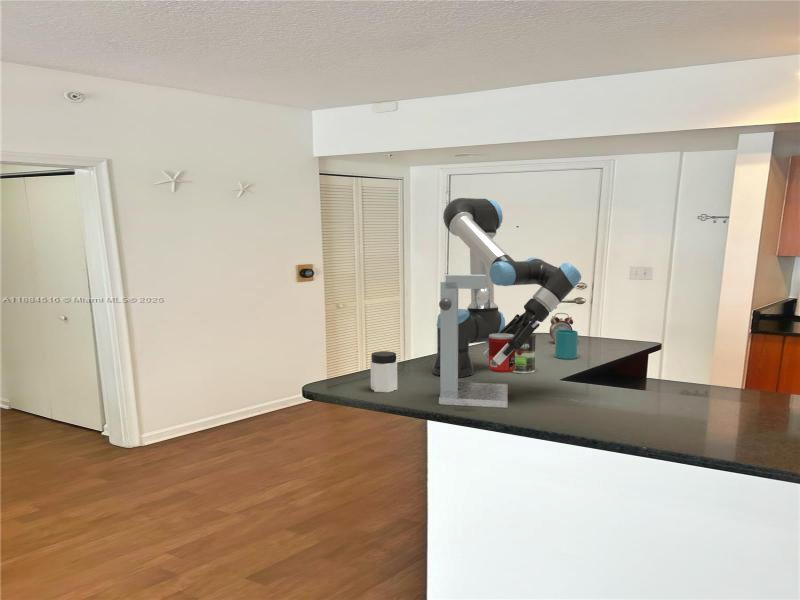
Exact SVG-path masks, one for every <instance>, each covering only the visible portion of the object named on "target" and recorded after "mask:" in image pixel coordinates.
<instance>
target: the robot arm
mask: <svg viewBox="0 0 800 600" xmlns="http://www.w3.org/2000/svg"><path fill="white" fill-rule="evenodd" d="M442 216H443V217H442V218H443V223H444V225H445V228H446V229H447V231H449V232H450V234H452V235H454V236H455V237H459V239H460V240H461V241H462V242H463V243H464V245H466V246H467V247H468V248H469V263H470V264H469V267H470V269H469V270H470V273H469V275H486V288H490V308H487V309H478V308H474V289H470V299H471V302H470V303H469V305H468V306H467V308H458V378H466V377H465V376H467V377H470V376H469V375H471V376H473V375H474V365H473V362H472V359H471V356H470V355H471V354H470V351H469V350H470V344H477V343H489V335H490V334H495V333H507V334H513V335H514V334H515V335H514V336H513V338H512V340H511V341H508V343H509V344H510V345H509V344H508V343H507V344H506V345H505V346H504V347H503V348H502V349H501V350H500V351H499V353H498V354H497V355H496V356H495V357H494V358H493V360H494V361H495V362H496V363H497V364H498V365H500V364H501V363H502V362H503V361H504V360H505V359H506V358H507V357H508V356H509V355H510V353H511V352H512V351H513V350H514V349H516V348H518V349H520V348H521V347H522V345H523V344H524V343H525V342H526V340H527V339H528V338H529V337H530V335H531V334H532V333H534V332H535V331H536V329H538V328H539V326H540V323H543V322H544V321H545V320H546V319H547V318H548V317H549V316H550V313H552V312H553V311H554V310H556V309H558V308H557V307H558V305H559V304H561V302H563V300H564V299H565V298H566V297H567V296H568V295H569V294H570V293H571V292H572V291H573V290H574V289H576V286H577V285H578V284H579V283H580V281H581V280H582V274H581V273H580V271H579V270H578V269H577V267H575V266H574V265H572V264H570V263H569V262H564V263H561V265H560V266H559V267H558V266H554V265H553V264H550V263H548V262H546V261H545V260H542V258H541V259H540V258H537V257H529V258H528V259H525V260H522V261H520V260H518V261H516V260H514V259H513V258H512V257H511V256H510V255H509V254H508V253H507V252H506V251H505V250H504V249H503V248H501V246H500V245H499V244H497V242H496V241H494V239H493V238H494V237H495V236H496V235H497V230H499V229H500V227H501V226H502V225H501V224H502V223H503V220H504V219H503V211H502V208H501V206H500V204H498V202H496V201H495V200H493V199H489V198H488V199H487V198H475V197H474V198H470V197H467V198H466V197H459V198H454V199H453V200H451V201H450V202H449V203H448V204H447V205H445V208H444V211H443V215H442ZM494 285H495V286H503V287H509V286H523V285H524V286H527V285H529V286H531V285H538V286H540V288H539V289H538V290H537V291H536V292H535V293H534V294H533V295H532V298H529V300H528V301H527V302H526V303H525V304H524V305H523V309H524V310H525V312H523V313H522V314H519V313H517V314H515V316H514V317H513V318H512V319H511V320H510V321H509V322H508V323H507V324H506V319H505V317H504V314H503V312H501V311H500V310H499V305H497V304H496V302H495V295H494V294H495V293H494V292H495V289H494ZM539 322H540V323H539ZM436 329H437V331H436V334H437V336H436V343H437V344H436V345H437V346H436V347H437V353H436V355H435V359H434V362H433V365H432V374H433V373H434V374H433V375H435V374H436V375H435V376H437V375H440V313H438V316H437V321H436ZM483 355H484V356H485V357H486V358H487V359H488V360H489V347H488V348H487V349H486V350H485V351H484V352H483ZM472 374H473V375H472Z"/></svg>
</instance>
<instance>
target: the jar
mask: <svg viewBox="0 0 800 600" xmlns="http://www.w3.org/2000/svg"><path fill="white" fill-rule="evenodd" d="M370 357H371V358H370V359H371V360H370V389H371V390H372V391H373V390H374V391H373V392H375V393H391V392H395V391H398V361H397V353H396V352H395V351H390V350H389V351H386V350H383V351H381V350H380V351H374V352H372V353H371V356H370ZM394 390H395V391H394Z"/></svg>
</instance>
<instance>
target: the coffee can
mask: <svg viewBox="0 0 800 600" xmlns="http://www.w3.org/2000/svg"><path fill="white" fill-rule="evenodd" d="M514 335H515V334H514ZM536 337H537V334H536V333H534V332H533V333H532V334H531V335H530V337H529V338H528V339H527V340H526V342H525V343H524V344H523V345H522V347H521V348H520V349H518V348H516V349H515V369H514V371H513V372H512V373H514V374H532V373H535V371H536Z"/></svg>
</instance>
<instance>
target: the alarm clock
mask: <svg viewBox="0 0 800 600" xmlns="http://www.w3.org/2000/svg"><path fill="white" fill-rule="evenodd" d="M557 315H567V317H565V318H564V319H563V318H559V317H558V316H557ZM550 324H551V325H550V327H549V331H548V332H549V335H550V337H551V339H552V340H553V343H555V331H556V330H573V327H572V325H573V324H574V320H573V317H572V316H569V314H567V313H565V312H557V313H555V314H554V316H551V318H550Z"/></svg>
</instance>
